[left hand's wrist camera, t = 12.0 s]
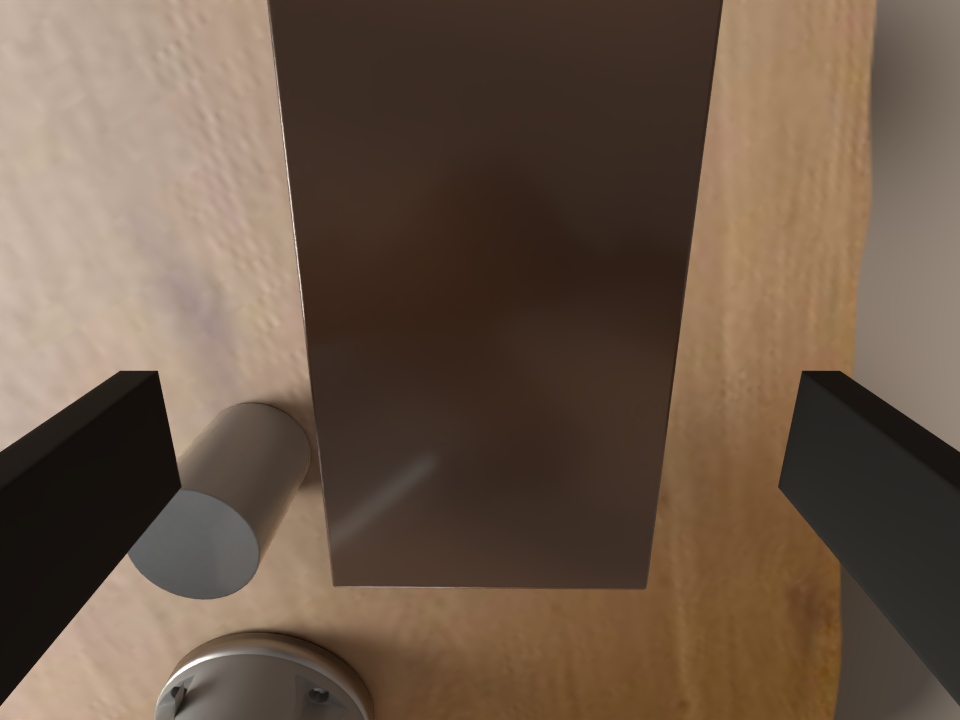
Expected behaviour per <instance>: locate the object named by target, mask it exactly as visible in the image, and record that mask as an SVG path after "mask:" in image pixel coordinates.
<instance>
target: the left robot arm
mask: <svg viewBox="0 0 960 720" xmlns="http://www.w3.org/2000/svg"><path fill="white" fill-rule="evenodd" d="M181 487H182V485H181V481H180V476H179V471H178V466H177V461H176V456H175V452H174V447H173V442H172V437H171V432H170V428H169V423H168V418H167V413H166V408H165V403H164V399H163V394H162V389H161V384H160V379H159V374H158V371H119V372H118V373H116V374H115V375H113V376H112V377H110V378H109V379H107V380H106V381H105V382H103V383H102V384H100V385H99V386H97V387H96V388H94V389H93V390H91V391H90V392H88V393H87V394H85V395H84V396H82V397H81V398H79V399H78V400H77V401H75V402H74V403H72V404H71V405H69V406H68V407H66V408H65V409H63V410H62V411H60V412H59V413H57V414H56V415H54V416H53V417H51V418H50V419H48V420H47V421H46V422H44V423H43V424H41V425H40V426H38V427H37V428H35V429H34V430H32V431H31V432H29V433H28V434H26V435H25V436H23V437H22V438H20V439H19V440H18V441H16V442H15V443H13V444H12V445H10V446H9V447H7V448H6V449H4V450H3V451H1V452H0V706H1V705H2V703H3V702H4V701H5V700H6V699H7V697H8V696H9V695H10V694H11V693H12V691H13V690H14V689H15V688H16V687H17V685H18V684H19V683H20V682H21V681H22V679H23V678H24V677H25V676H26V675H27V673H28V672H29V671H30V670H31V668H32V667H33V666H34V665H35V664H36V662H37V661H38V660H39V659H40V658H41V656H42V655H43V654H44V653H45V652H46V650H47V649H48V648H49V647H50V646H51V644H52V643H53V642H54V641H55V639H56V638H57V637H58V636H59V635H60V633H61V632H62V631H63V630H64V629H65V627H66V626H67V625H68V624H69V623H70V621H71V620H72V619H73V618H74V617H75V615H76V614H77V613H78V612H79V611H80V609H81V608H82V607H83V606H84V604H85V603H86V602H87V601H88V600H89V598H90V597H91V596H92V595H93V594H94V592H95V591H96V590H97V589H98V588H99V586H100V585H101V584H102V583H103V582H104V580H105V579H106V578H107V577H108V575H109V574H110V573H111V572H112V571H113V569H114V568H115V567H116V566H117V565H118V563H119V562H120V561H121V560H122V559H123V557H124V556H125V555H126V554H127V553H128V551H129V550H130V549H131V548H132V547H133V545H134V544H135V543H136V542H137V540H138V539H139V538H140V537H141V536H142V534H143V533H144V532H145V531H146V530H147V528H148V527H149V526H150V525H151V524H152V522H153V521H154V520H155V519H156V518H157V516H158V515H159V514H160V513H161V511H162V510H163V509H164V508H165V507H166V505H167V504H168V503H169V502H170V501H171V499H172V498H173V497H174V496H175V495H176V493H177V492H178V491H179V490H180V489H181ZM778 487H779V489H780V490H781V491H782V492H783V493H784V495H785V496H786V497H787V498H788V499H789V501H790V502H791V503H792V504H793V505H794V507H795V508H796V509H797V510H798V511H799V513H800V514H801V515H802V516H803V518H804V519H805V520H806V521H807V522H808V524H809V525H810V526H811V527H812V528H813V530H814V531H815V532H816V533H817V534H818V536H819V537H820V538H821V539H822V540H823V542H824V543H825V544H826V545H827V547H828V548H829V549H830V550H831V551H832V553H833V554H834V555H835V556H836V557H837V559H838V560H839V561H840V562H841V563H842V565H843V566H844V567H845V568H846V569H847V571H848V572H849V573H850V574H851V575H852V577H853V578H854V579H855V580H856V581H857V583H858V584H859V585H860V586H861V588H862V589H863V590H864V591H865V592H866V594H867V595H868V596H869V597H870V598H871V600H872V601H873V602H874V603H875V604H876V606H877V607H878V608H879V609H880V611H881V612H882V613H883V614H884V615H885V617H886V618H887V619H888V620H889V621H890V623H891V624H892V625H893V626H894V627H895V629H896V630H897V631H898V632H899V633H900V635H901V636H902V637H903V638H904V639H905V641H906V642H907V643H908V644H909V646H910V647H911V648H912V649H913V650H914V652H915V653H916V654H917V655H918V656H919V658H920V659H921V660H922V661H923V662H924V664H925V665H926V666H927V667H928V668H929V670H930V671H931V672H932V673H933V675H934V676H935V677H936V678H937V679H938V681H939V682H940V683H941V684H942V685H943V687H944V688H945V689H946V690H947V691H948V693H949V694H950V695H951V696H952V697H953V699H954V700H955V701H956V702H957V703H958V705H959V706H960V452H959V451H957V450H956V449H954V448H953V447H951V446H950V445H948V444H947V443H945V442H944V441H942V440H941V439H940V438H938V437H937V436H935V435H934V434H932V433H931V432H929V431H928V430H926V429H925V428H923V427H922V426H920V425H919V424H917V423H916V422H914V421H913V420H911V419H910V418H909V417H907V416H906V415H904V414H903V413H901V412H900V411H898V410H897V409H895V408H894V407H892V406H891V405H889V404H888V403H886V402H885V401H883V400H882V399H881V398H879V397H878V396H876V395H875V394H873V393H872V392H870V391H869V390H867V389H866V388H864V387H863V386H861V385H860V384H858V383H857V382H855V381H854V380H853V379H851V378H850V377H848V376H847V375H845V374H844V373H842V372H841V371H802V374H801V379H800V384H799V389H798V394H797V399H796V403H795V408H794V413H793V418H792V423H791V427H790V432H789V437H788V442H787V447H786V452H785V456H784V461H783V466H782V471H781V476H780V481H779V485H778ZM153 720H374V711H373V705H372V701H371V698H370V696H369V693H368V691H367V689H366V687H365V686H364V684H363V682H362V681H361V680H360V678H359V677H358V676H357V675H356V674H355V672H354V671H353V670H352V669H351V668H350V667H349V666H347V665H346V664H345V663H344V662H343V661H341V660H340V659H339V658H337V657H336V656H334V655H333V654H331V653H330V652H328V651H326V650H324V649H322V648H320V647H318V646H316V645H314V644H312V643H309V642H306V641H303V640H301V639H297V638H293V637H290V636H285V635H280V634H272V633H240V634H233V635H227V636H223V637H220V638H216V639H214V640H211V641H208V642H206V643H204V644H202V645H200V646H198V647H197V648H195V649H194V650H192V651H191V652H190V653H188V654H187V655H186V656H185V657H184V658H183V659H182V660H181V661H180V662H179V663H178V665H177V666H176V667H175V669H174V671H173V673H172V674H171V676H170V678H169V680H168V681H167V683H166V685H165V687H164V688H163V690H162V692H161V694H160V696H159V698H158V701H157V704H156V708H155V714H154V719H153Z"/></svg>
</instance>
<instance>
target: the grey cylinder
mask: <svg viewBox="0 0 960 720" xmlns="http://www.w3.org/2000/svg"><path fill="white" fill-rule="evenodd" d="M176 461H177V466H178V471H179V476H180V481H181V485H182V487H181V489H180V490H179V491H178V492H177V493H176V495H175V496H174V497H173V498H172V499H171V501H170V502H169V503H168V504H167V505H166V507H165V508H164V509H163V510H162V511H161V513H160V514H159V515H158V516H157V518H156V519H155V520H154V521H153V522H152V524H151V525H150V526H149V527H148V528H147V530H146V531H145V532H144V533H143V534H142V536H141V537H140V538H139V539H138V540H137V542H136V543H135V544H134V545H133V547H132V548H131V549H130V550H129V551H128V553H127V554H128V556H129V557H130V559H131V561H132V563H133V564H134V566H135V567H136V568H137V569H138V570H139V572H140V573H141V574H142V575H143V576H144V577H146V578H147V579H148V580H149V581H151V582H152V583H153V584H155V585H156V586H158V587H160V588H161V589H163V590H166V591H168V592H170V593H173V594H175V595H178V596H182V597H186V598H192V599H215V598H221V597H225V596H228V595H230V594H233V593H235V592H237V591H238V590H240V589H242V588H243V587H244V586H245V585H247V584H248V583H249V581H250V580H251V579H252V578H253V576H254V575H255V573H256V571H257V569H258V567H259V566H260V564H261V562H262V560H263V558H264V556H265V554H266V552H267V550H268V548H269V546H270V544H271V542H272V540H273V538H274V536H275V534H276V532H277V530H278V528H279V526H280V524H281V522H282V520H283V519H284V517H285V515H286V513H287V511H288V509H289V507H290V505H291V503H292V501H293V499H294V497H295V495H296V493H297V491H298V489H299V487H300V485H301V483H302V481H303V479H304V477H305V475H306V473H307V471H308V469H309V466H310V461H311V450H310V445H309V442H308V439H307V437H306V435H305V433H304V431H303V430H302V428H301V427H300V426H299V425H298V423H297V422H296V421H295V420H293V419H292V418H291V417H290V416H288V415H287V414H286V413H284V412H282V411H280V410H279V409H276V408H274V407H271V406H268V405H264V404H258V403H244V404H239V405H235V406H232V407H229V408H227V409H225V410H224V411H222V412H221V413H219V414H218V415H217V416H216V417H215V418H214V419H213V420H212V421H211V422H210V423H209V425H208V426H207V427H206V428H205V429H204V430H203V431H202V432H201V433H200V434H199V436H198V437H197V438H196V439H195V440H194V441H193V442H192V443H191V444H190V445H189V446H188V448H187V449H186V450H185V451H184V452H183V453H182V454H181V455H180V456H179V457H178V459H177V460H176Z"/></svg>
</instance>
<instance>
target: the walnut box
mask: <svg viewBox="0 0 960 720" xmlns="http://www.w3.org/2000/svg"><path fill="white" fill-rule="evenodd" d="M267 4H268V13H269V22H270V31H271V39H272V48H273V57H274V66H275V75H276V84H277V93H278V102H279V110H280V119H281V128H282V137H283V146H284V155H285V164H286V173H287V181H288V190H289V199H290V208H291V217H292V226H293V235H294V244H295V252H296V261H297V270H298V279H299V288H300V297H301V306H302V315H303V324H304V332H305V341H306V350H307V359H308V368H309V377H310V386H311V395H312V403H313V412H314V421H315V430H316V439H317V448H318V457H319V466H320V474H321V483H322V492H323V501H324V510H325V519H326V528H327V537H328V545H329V554H330V563H331V572H332V581H333V586H334V587H366V588H507V589H646V587H647V580H648V572H649V565H650V557H651V549H652V542H653V534H654V526H655V519H656V511H657V503H658V496H659V488H660V480H661V473H662V465H663V457H664V450H665V442H666V434H667V427H668V419H669V411H670V404H671V396H672V388H673V381H674V373H675V365H676V358H677V350H678V342H679V335H680V327H681V319H682V312H683V304H684V296H685V289H686V281H687V274H688V266H689V258H690V251H691V243H692V235H693V228H694V220H695V212H696V205H697V197H698V189H699V182H700V174H701V166H702V159H703V151H704V143H705V136H706V128H707V120H708V113H709V105H710V97H711V90H712V82H713V74H714V67H715V59H716V51H717V44H718V36H719V28H720V21H721V13H722V5H723V0H267Z"/></svg>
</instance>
